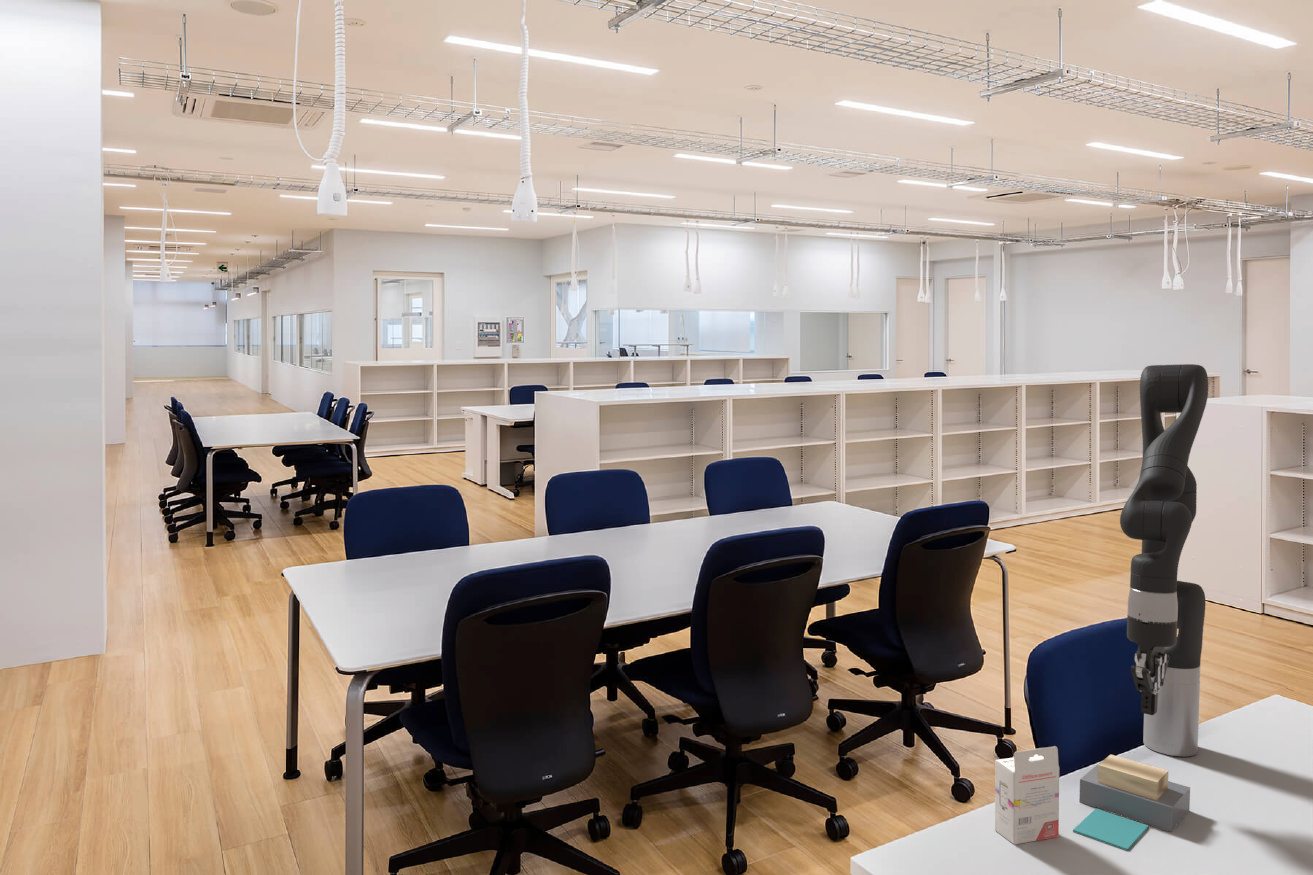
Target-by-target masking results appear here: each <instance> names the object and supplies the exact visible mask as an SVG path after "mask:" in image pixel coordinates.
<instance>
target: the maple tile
mask: <svg viewBox="0 0 1313 875" xmlns="http://www.w3.org/2000/svg"><path fill="white" fill-rule="evenodd" d="M1100 762H1101V763H1100ZM1100 762H1099V763H1100V764H1099V763H1098V764H1099V765H1098V764H1097V765H1098V782H1099V783H1102V784H1105V785H1108V786H1112V787H1115V788H1118V789H1121V790H1125V791H1128V792H1131V793H1134V794H1138V795H1141V796H1144V797H1147V798H1151V799H1154V800H1157V799H1158V798H1159V797H1160V796H1161V795H1162V794H1163V793H1164V792H1165V791H1166V790H1167V789H1168V781H1169V770H1168V769H1163V768H1160V767H1157V766H1152V765H1149V764H1147V763H1142V762H1140V761H1139V762H1138V761H1136V760H1132V759H1129V758H1125V757H1121V756H1118V755H1114V754H1109V755H1108V756H1107V757H1106V758H1104V759H1103V760H1101V761H1100Z"/></svg>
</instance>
